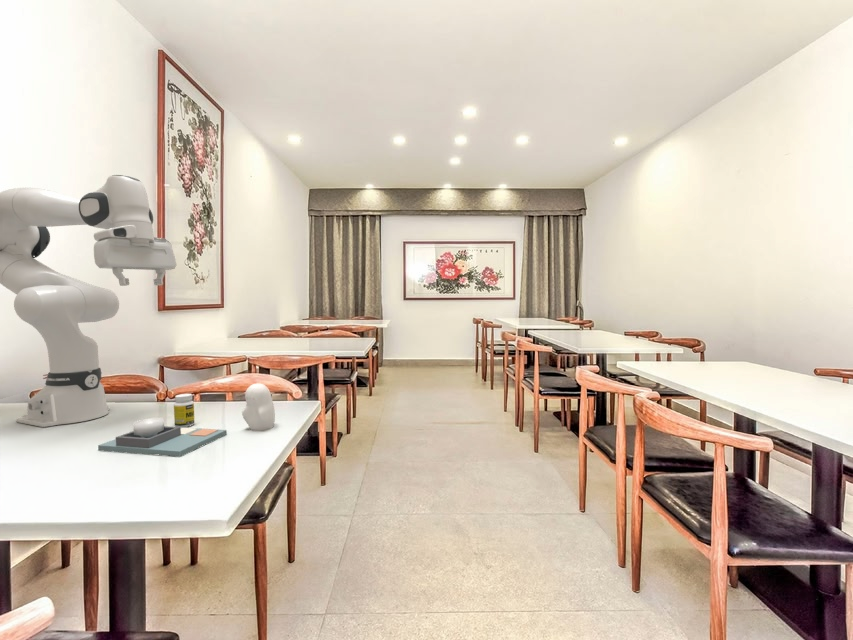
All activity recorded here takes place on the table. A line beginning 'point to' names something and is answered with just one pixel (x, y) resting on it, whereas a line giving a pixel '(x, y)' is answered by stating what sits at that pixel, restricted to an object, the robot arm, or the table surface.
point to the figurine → (259, 408)
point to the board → (164, 441)
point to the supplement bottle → (184, 410)
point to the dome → (148, 427)
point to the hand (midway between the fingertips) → (142, 285)
